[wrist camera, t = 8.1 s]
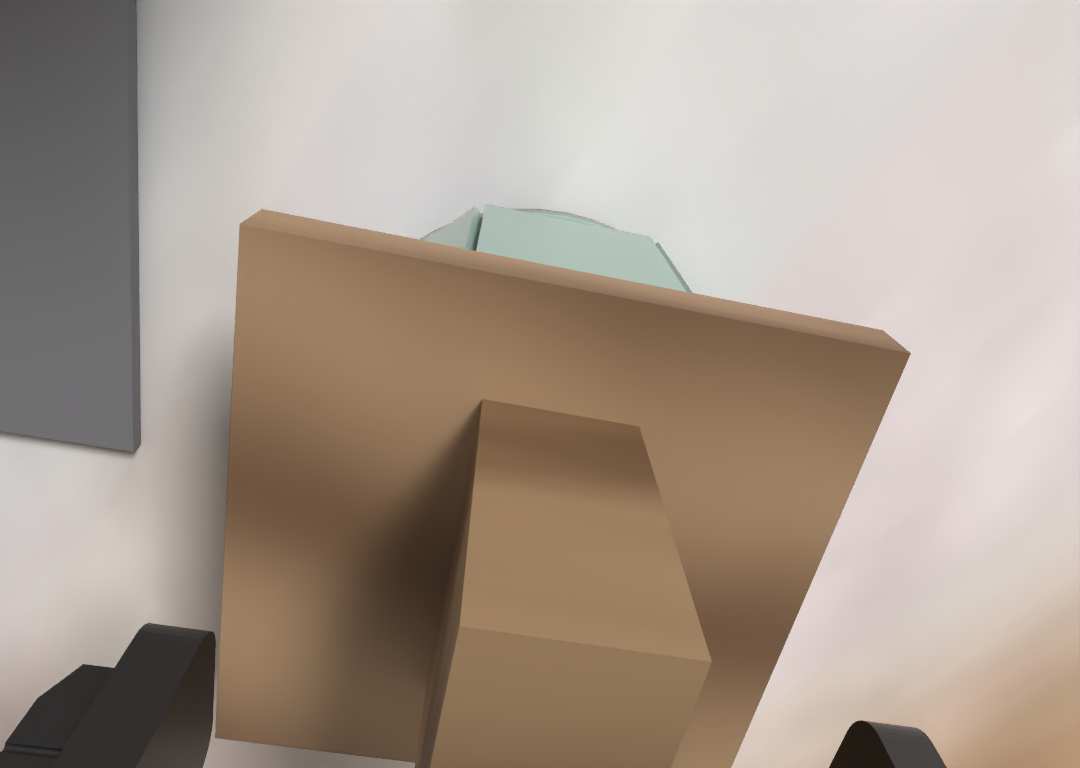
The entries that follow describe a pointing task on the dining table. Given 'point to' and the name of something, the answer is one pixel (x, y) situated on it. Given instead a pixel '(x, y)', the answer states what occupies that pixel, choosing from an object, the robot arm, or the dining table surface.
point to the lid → (519, 502)
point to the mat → (69, 222)
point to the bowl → (562, 244)
